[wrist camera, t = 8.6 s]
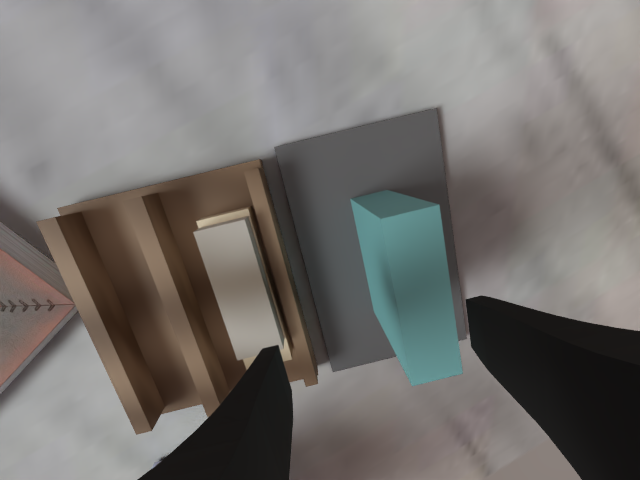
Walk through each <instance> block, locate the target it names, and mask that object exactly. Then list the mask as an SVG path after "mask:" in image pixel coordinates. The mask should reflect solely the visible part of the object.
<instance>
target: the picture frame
mask: <svg viewBox="0 0 640 480" xmlns="http://www.w3.org/2000/svg"><path fill="white" fill-rule="evenodd" d="M77 311H78V310H77V307H76V305H75V303H74V301H73V299H72V297H71V295H70V293H69V290H68V288H67V286H66V284H65V282H64V280H63V278H62V276H61V273H60V271H59V269H58V267H57V265H56V264H55V263H54V262H53V261H51V260H50V259H49V258H47V257H46V256H45V255H44V254H42V253H41V252H40V251H38V250H37V249H36V248H34V247H33V246H32V245H30V244H29V243H28V242H26V241H25V240H24V239H22V238H21V237H20V236H18V235H17V234H16V233H14V232H13V231H12V230H10V229H9V228H8V227H6V226H5V225H4V224H2V223H1V222H0V394H1V393H2V392H3V391H4V390H5V389H6V388H7V387H8V386H9V384H10V383H11V382H12V381H13V380H14V379H15V378H16V377H17V376H18V375H19V374H20V373H21V372H22V370H23V369H24V368H25V367H26V366H27V365H28V364H29V363H30V362H31V361H32V360H33V359H34V358H35V356H36V355H37V354H38V353H39V352H40V351H41V350H42V349H43V348H44V347H45V346H46V345H47V344H48V342H49V341H50V340H51V339H52V338H53V337H54V336H55V335H56V334H57V333H58V332H59V331H60V330H61V328H62V327H63V326H64V325H65V324H66V323H67V322H68V321H69V320H70V319H71V318H72V317H73V316H74V314H75V313H76V312H77Z"/></svg>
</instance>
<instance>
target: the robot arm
mask: <svg viewBox="0 0 640 480" xmlns="http://www.w3.org/2000/svg"><path fill="white" fill-rule="evenodd" d="M466 307H467V315H468V323H469V331H470V340H471V347H472V348H473V350H474V351H475V353H476V354H477V356H478V357H479V359H480V360H481V361H482V363H483V364H484V365H485V367H486V368H487V369H488V371H489V372H490V373H491V374H492V375H493V376H494V377H495V378H496V379H497V380H498V382H499V383H500V384H501V385H502V386H503V387H504V388H505V389H506V390H507V391H508V392H509V393H510V394H511V395H512V397H513V398H514V399H515V400H516V401H517V402H518V403H519V404H520V405H521V406H522V407H523V408H524V409H525V410H526V411H527V413H528V414H529V415H530V416H531V417H532V418H533V419H534V420H535V421H536V422H537V423H538V424H539V426H540V427H541V428H542V429H543V430H544V431H545V433H546V434H547V435H548V436H549V437H550V439H551V440H552V441H553V442H554V444H555V445H556V446H557V448H558V449H559V450H560V451H561V453H562V454H563V455H564V456H565V458H566V459H567V460H568V461H569V463H570V464H571V465H572V467H573V468H574V469H575V471H576V472H577V474H578V475H579V476H580V478H581V479H582V480H640V331H634V330H627V329H621V328H614V327H609V326H603V325H598V324H592V323H587V322H582V321H577V320H573V319H569V318H565V317H561V316H556V315H552V314H549V313H545V312H541V311H537V310H534V309H530V308H527V307H523V306H520V305H516V304H513V303H509V302H506V301H502V300H499V299H495V298H491V297H486V296H478V297H474V298H469V299H466ZM292 427H293V403H292V390H291V386H290V383H289V379H288V376H287V373H286V369H285V366H284V362H283V359H282V355H281V352H280V349H279V345H275V346H271V347H267V348H262V350H261V351H260V352H259V354H258V355H257V357H256V358H255V359H254V361H253V362H252V364H251V365H250V367H249V368H248V369H247V371H246V372H245V374H244V375H243V376H242V378H241V379H240V380H239V382H238V383H237V384H236V386H235V387H234V388H233V389H232V391H231V392H230V393H229V394H228V396H227V397H226V398H225V399H224V401H223V402H222V403H221V404H220V405H219V407H218V408H217V409H216V410H215V411H214V412H213V413H212V414H211V415H210V416H209V418H208V419H207V420H206V421H205V422H204V423H203V424H202V425H201V426H200V427H199V428H198V429H197V430H196V431H195V432H194V433H193V434H192V435H190V436H189V437H188V438H187V439H186V440H185V441H184V442H183V443H182V444H180V445H179V446H178V447H177V448H176V449H175V450H174V451H173V452H172V453H170V454H169V455H168V456H167V457H166V458H165V459H163V460H162V461H158V462H156V463H154V465H153V467H152V469H151V470H150V471H148V472H147V473H146V474H144V475H143V476H142V477H141V478H139V479H138V480H289V469H290V456H291V442H292Z"/></svg>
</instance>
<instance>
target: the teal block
mask: <svg viewBox="0 0 640 480" xmlns="http://www.w3.org/2000/svg"><path fill="white" fill-rule="evenodd" d="M350 200H351V205H352V209H353V214H354V219H355V224H356V228H357V233H358V238H359V243H360V248H361V252H362V257H363V262H364V267H365V271H366V276H367V281H368V286H369V290H370V295H371V300H372V305H373V310H374V313H375V315H376V317H377V318H378V320H379V322H380V324H381V326H382V328H383V330H384V332H385V334H386V336H387V338H388V340H389V342H390V344H391V346H392V348H393V350H394V352H395V354H396V356H397V358H398V359H399V361H400V363H401V365H402V367H403V369H404V371H405V373H406V375H407V377H408V379H409V381H410V383H411V385H412V386H415V385H419V384H423V383H427V382H431V381H435V380H439V379H443V378H447V377H451V376H455V375H459V374H463V372H462V364H461V357H460V350H459V343H458V336H457V328H456V321H455V314H454V307H453V300H452V292H451V285H450V278H449V271H448V264H447V256H446V249H445V242H444V235H443V227H442V220H441V213H440V206H439V204H435V203H432V202H428V201H425V200H421V199H418V198H414V197H411V196H407V195H404V194H400V193H397V192H393V191H389V190H385V191H380V192H376V193H372V194H368V195H364V196H360V197H356V198H352V199H350Z"/></svg>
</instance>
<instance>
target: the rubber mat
mask: <svg viewBox="0 0 640 480" xmlns="http://www.w3.org/2000/svg"><path fill="white" fill-rule="evenodd" d="M274 148H275V152H276V156H277V159H278V163H279V167H280V171H281V175H282V179H283V182H284V186H285V190H286V194H287V198H288V202H289V206H290V209H291V213H292V217H293V221H294V225H295V229H296V232H297V236H298V240H299V244H300V248H301V252H302V256H303V259H304V263H305V267H306V271H307V275H308V279H309V282H310V286H311V290H312V294H313V298H314V302H315V306H316V309H317V313H318V317H319V321H320V325H321V329H322V333H323V336H324V340H325V344H326V348H327V352H328V356H329V359H330V363H331V367H332V371H333V372H335V371H339V370H343V369H347V368H351V367H355V366H359V365H364V364H368V363H372V362H376V361H380V360H384V359H388V358H392V357H396V354H395V352H394V350H393V348H392V346H391V344H390V342H389V340H388V338H387V336H386V334H385V332H384V330H383V328H382V326H381V324H380V322H379V320H378V318H377V317H376V315H375V313H374V310H373V305H372V300H371V295H370V290H369V286H368V281H367V276H366V271H365V267H364V262H363V257H362V252H361V248H360V243H359V238H358V233H357V228H356V224H355V219H354V214H353V209H352V205H351V200H350V199H352V198H356V197H360V196H364V195H368V194H372V193H376V192H380V191H385V190H389V191H393V192H397V193H400V194H404V195H407V196H411V197H414V198H418V199H421V200H425V201H428V202H432V203H435V204H439V206H440V213H441V220H442V227H443V235H444V242H445V249H446V256H447V264H448V271H449V278H450V285H451V292H452V300H453V307H454V314H455V321H456V328H457V336H458V341H460V340H464V339H467V337H466V330H465V322H464V314H463V307H462V299H461V291H460V284H459V276H458V268H457V261H456V253H455V246H454V238H453V230H452V223H451V215H450V207H449V200H448V192H447V184H446V177H445V169H444V162H443V154H442V146H441V139H440V131H439V123H438V116H437V108H435V109H431V110H426V111H422V112H418V113H414V114H410V115H406V116H402V117H397V118H393V119H389V120H385V121H381V122H377V123H373V124H368V125H364V126H360V127H356V128H352V129H348V130H344V131H339V132H335V133H331V134H327V135H323V136H319V137H315V138H310V139H306V140H302V141H298V142H294V143H290V144H286V145H281V146H277V147H274Z"/></svg>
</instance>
